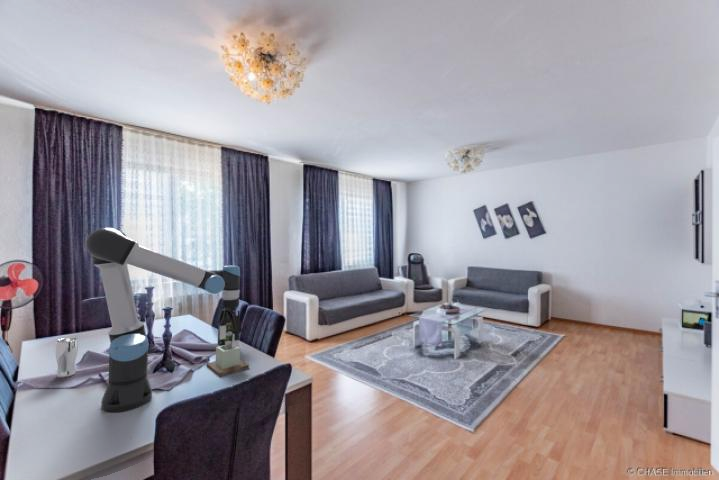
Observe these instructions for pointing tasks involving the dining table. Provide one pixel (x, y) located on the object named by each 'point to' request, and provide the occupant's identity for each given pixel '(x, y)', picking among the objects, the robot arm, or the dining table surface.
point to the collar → (227, 357)
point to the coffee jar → (228, 333)
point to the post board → (221, 372)
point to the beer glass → (66, 356)
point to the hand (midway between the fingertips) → (228, 342)
